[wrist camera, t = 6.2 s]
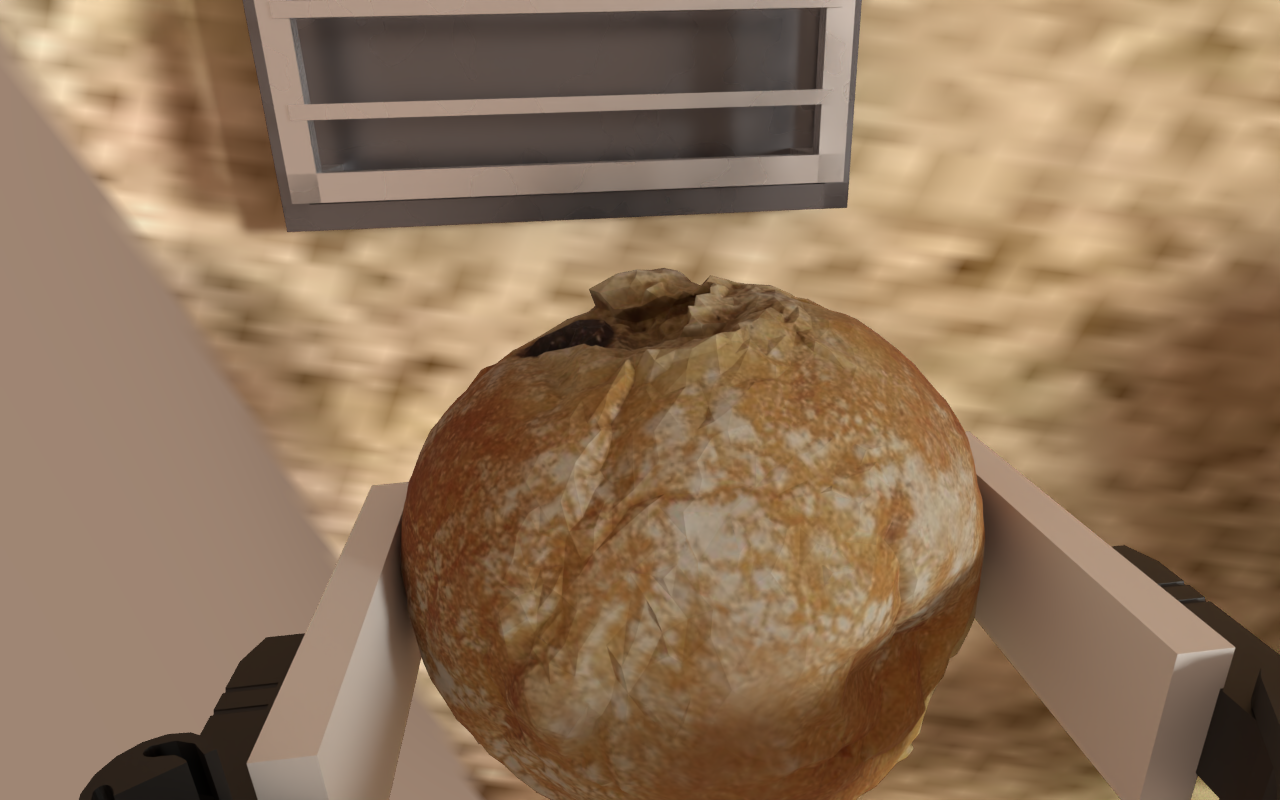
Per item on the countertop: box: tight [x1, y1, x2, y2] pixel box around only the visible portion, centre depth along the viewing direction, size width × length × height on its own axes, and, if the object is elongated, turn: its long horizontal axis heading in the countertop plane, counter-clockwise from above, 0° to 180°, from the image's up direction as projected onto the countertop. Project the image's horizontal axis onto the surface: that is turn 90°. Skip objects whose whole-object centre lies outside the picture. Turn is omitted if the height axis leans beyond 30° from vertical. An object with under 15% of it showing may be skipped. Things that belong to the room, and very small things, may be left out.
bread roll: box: [401, 268, 985, 800], centre depth 14 cm, size 10×10×8 cm
